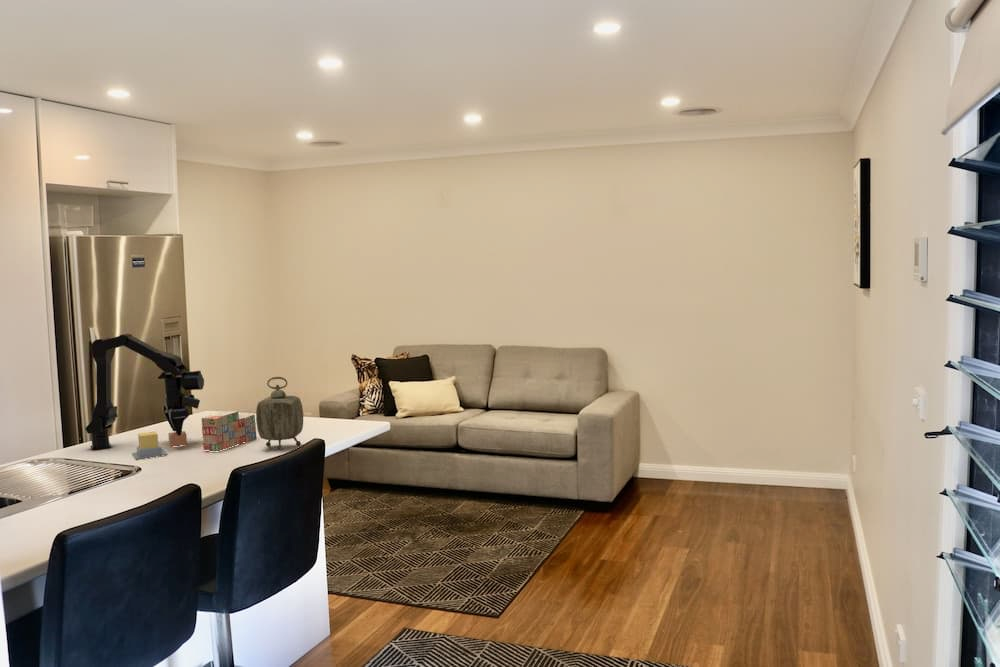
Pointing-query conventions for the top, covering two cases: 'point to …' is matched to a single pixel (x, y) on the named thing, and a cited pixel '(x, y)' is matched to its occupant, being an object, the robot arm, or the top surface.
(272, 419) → the tabletop clock
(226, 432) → the stack of blocks
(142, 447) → the mustard brick
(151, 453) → the baseplate
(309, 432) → the top surface
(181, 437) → the terracotta brick
